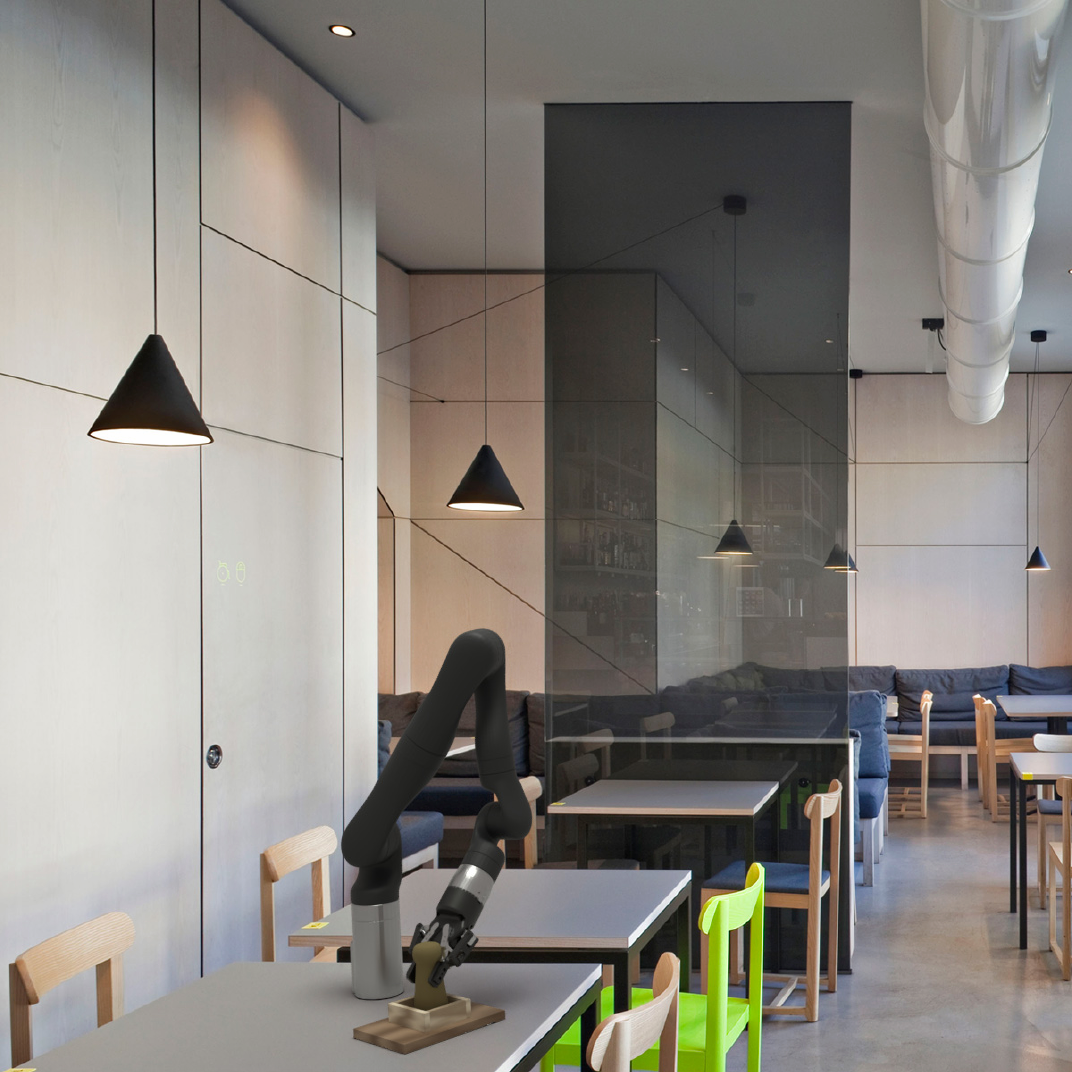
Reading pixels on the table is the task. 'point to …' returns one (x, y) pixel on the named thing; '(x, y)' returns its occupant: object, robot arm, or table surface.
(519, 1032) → the table surface
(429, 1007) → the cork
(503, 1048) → the table surface
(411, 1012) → the collar board
